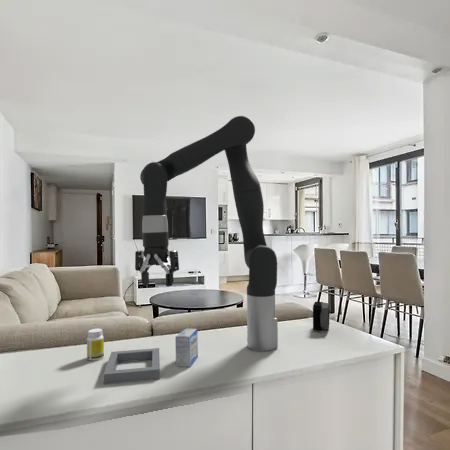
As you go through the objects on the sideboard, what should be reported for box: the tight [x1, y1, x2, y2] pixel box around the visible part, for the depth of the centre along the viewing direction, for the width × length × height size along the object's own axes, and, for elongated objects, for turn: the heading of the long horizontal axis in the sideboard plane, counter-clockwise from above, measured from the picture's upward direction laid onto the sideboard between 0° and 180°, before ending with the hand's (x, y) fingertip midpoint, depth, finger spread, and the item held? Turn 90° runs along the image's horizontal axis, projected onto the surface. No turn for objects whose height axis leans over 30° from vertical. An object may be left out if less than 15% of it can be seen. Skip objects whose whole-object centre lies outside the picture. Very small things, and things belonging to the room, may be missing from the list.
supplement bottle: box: [86, 328, 105, 362], centre depth 104 cm, size 5×5×8 cm
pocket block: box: [102, 347, 161, 385], centre depth 96 cm, size 14×16×2 cm
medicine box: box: [174, 328, 199, 368], centre depth 101 cm, size 8×4×9 cm, turn 168°
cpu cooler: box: [312, 301, 330, 332], centre depth 131 cm, size 10×6×10 cm, turn 159°
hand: (157, 285), depth 102 cm, fingers open, 8 cm apart
